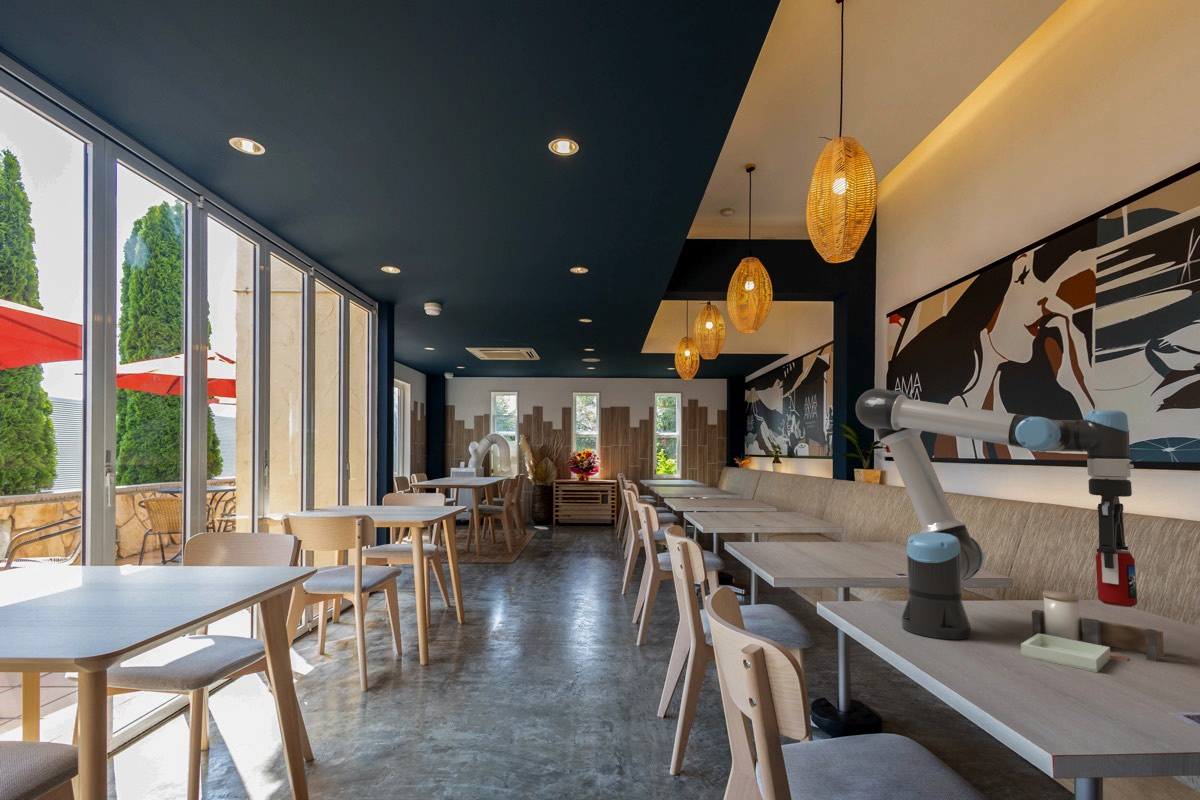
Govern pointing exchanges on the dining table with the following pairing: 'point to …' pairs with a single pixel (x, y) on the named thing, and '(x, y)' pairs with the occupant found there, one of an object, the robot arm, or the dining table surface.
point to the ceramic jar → (1062, 615)
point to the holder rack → (1112, 635)
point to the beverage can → (1126, 588)
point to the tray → (1066, 652)
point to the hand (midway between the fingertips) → (1114, 580)
